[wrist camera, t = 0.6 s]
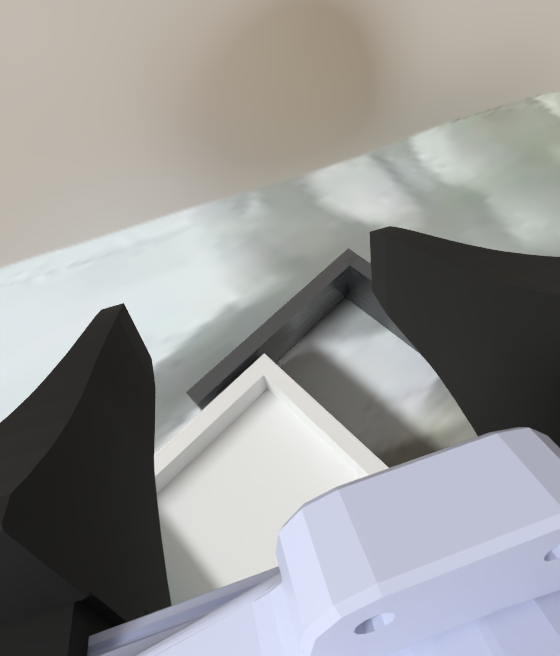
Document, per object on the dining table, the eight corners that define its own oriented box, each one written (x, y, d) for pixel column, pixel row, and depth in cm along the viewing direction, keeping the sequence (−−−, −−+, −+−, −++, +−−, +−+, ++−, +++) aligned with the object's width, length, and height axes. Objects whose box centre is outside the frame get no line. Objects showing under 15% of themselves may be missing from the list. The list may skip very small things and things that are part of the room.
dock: (550, 434, 25) (588, 416, 22) (405, 632, 21) (423, 650, 18) (344, 281, 32) (348, 248, 28) (202, 411, 28) (186, 392, 24)
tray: (441, 535, 23) (461, 534, 20) (261, 772, 19) (251, 816, 16) (269, 374, 28) (264, 353, 25) (100, 533, 24) (69, 531, 21)
